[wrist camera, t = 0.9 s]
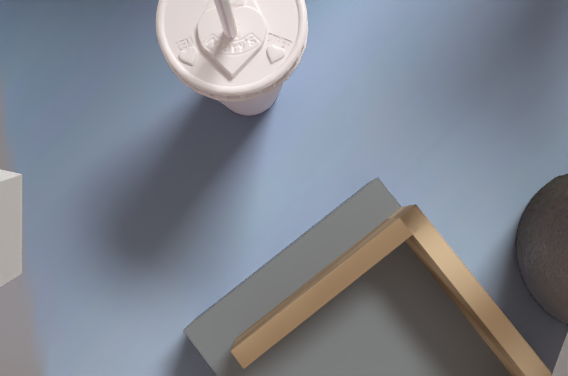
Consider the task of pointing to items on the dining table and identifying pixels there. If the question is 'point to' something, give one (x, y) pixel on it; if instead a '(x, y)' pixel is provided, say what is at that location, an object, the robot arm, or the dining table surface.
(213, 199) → the dining table surface
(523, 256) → the pillar candle
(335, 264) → the bay walls
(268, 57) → the smoothie
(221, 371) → the dock
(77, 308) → the dining table surface
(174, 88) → the dining table surface
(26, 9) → the dining table surface
